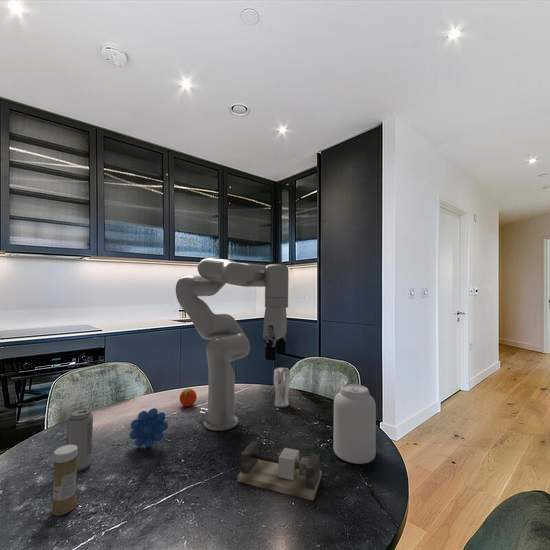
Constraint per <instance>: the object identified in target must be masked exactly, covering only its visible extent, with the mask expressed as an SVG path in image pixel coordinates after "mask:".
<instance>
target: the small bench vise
mask: <svg viewBox="0 0 550 550" xmlns="http://www.w3.org/2000/svg"><path fill="white" fill-rule="evenodd" d="M259 448H260V447H259V441H255V440H251V442H250V443H249V444H248V445H247V446H246V448H245V449H244V450H242V452H241V453H240V456H241V457H240V458H241V459H240V472H238V473H239V474H238V475H237V482H239V483H242V484H247V485H250V486H254V487H257V488H262V489H266V490H270V491H273V492H278V493H282V494H285V495H289V496H294V497H298V498H302V499H305V500H309V501H314V500H315V496H316V493H317V491H318V488H319V485H320V482H321V479H322V476H323V475H322V474H323V473H322V470H321V469H320V468H321V455H320V453H314V452H312V453H311V456H310V457H304V456H302V457H301V458H300V459H299V462H296V463H295V468H296V469H299V470H298V472H297V475H296V477H295V479H294V481H293V480H289V479H285V478H281V477H279V457H273V456H268V455H263V454H260V453H259Z"/></svg>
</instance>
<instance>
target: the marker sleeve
mask: <svg viewBox="0 0 550 550" xmlns="http://www.w3.org/2000/svg"><path fill="white" fill-rule="evenodd" d="M278 458H279V477H281V478H285V479H289V480H293V481H294V479H295V477H296V475H297V472H298V470H299V469H296V468H295V463H296V462H300V450H298V449H294V448H288V447H284V448H283V450H282V451H281V453H280V454H279V456H278Z"/></svg>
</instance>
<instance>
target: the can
mask: <svg viewBox="0 0 550 550" xmlns="http://www.w3.org/2000/svg"><path fill="white" fill-rule="evenodd" d="M376 416H377V405H376V401H375V399H374V397H373V396H371V395H370V390H369V389H368V387H366V386H365V385H361V384H356V383H350V384H349V383H348V384H343V385H341V387H340V388H339V392H338V393H336V395H335V396H334V399H333V443H332V445H333V452H334V454H335V455H336V456H337V458H338V459H339V458H340V460H343V461H345V462H348V463H352V464H357V465H358V464H359V465H360V464H361V465H363V464H368V463H370V462H372V461H374V460H375V458H376V455H377V451H376V450H377V440H376V439H377V417H376Z"/></svg>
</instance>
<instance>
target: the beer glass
mask: <svg viewBox="0 0 550 550" xmlns="http://www.w3.org/2000/svg"><path fill="white" fill-rule="evenodd" d="M290 374H291V373H290V368H288V367H283V366H282V367H281V366H280V367H279V366H278V367H275V368H274V369H273V387H274V393H275V398H274V406H275V407H276V408H282V409H283V408H287V407H289V406H290V405H289V390H290V386H291V385H290V384H291V375H290Z"/></svg>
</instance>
